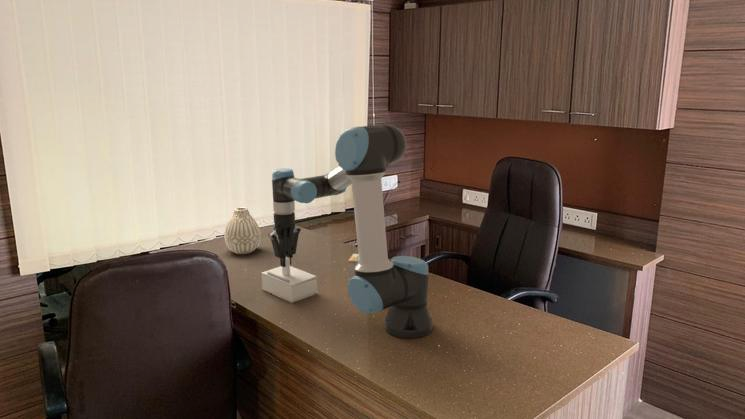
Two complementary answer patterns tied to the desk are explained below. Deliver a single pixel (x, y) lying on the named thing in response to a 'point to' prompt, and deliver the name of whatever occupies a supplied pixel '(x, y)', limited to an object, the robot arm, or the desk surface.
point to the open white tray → (290, 289)
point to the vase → (242, 232)
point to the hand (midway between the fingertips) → (286, 274)
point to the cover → (289, 276)
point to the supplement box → (352, 266)
